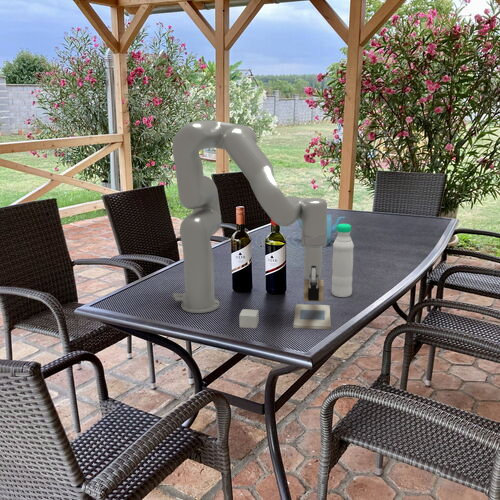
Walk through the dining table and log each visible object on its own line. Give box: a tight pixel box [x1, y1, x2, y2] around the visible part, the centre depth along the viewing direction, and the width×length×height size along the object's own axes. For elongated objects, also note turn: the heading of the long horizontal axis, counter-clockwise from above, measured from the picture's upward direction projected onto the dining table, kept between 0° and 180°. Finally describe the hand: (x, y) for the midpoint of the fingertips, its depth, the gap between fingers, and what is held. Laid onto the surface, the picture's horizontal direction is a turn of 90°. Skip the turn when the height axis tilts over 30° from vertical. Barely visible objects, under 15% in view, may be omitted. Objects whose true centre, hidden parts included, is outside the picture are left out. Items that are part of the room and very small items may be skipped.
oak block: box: [303, 278, 325, 302], centre depth 160 cm, size 6×6×5 cm
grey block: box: [238, 308, 260, 329], centre depth 158 cm, size 5×5×4 cm
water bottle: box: [331, 223, 355, 298], centre depth 179 cm, size 7×7×25 cm
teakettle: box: [297, 214, 346, 247], centre depth 250 cm, size 19×19×15 cm
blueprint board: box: [293, 303, 332, 331], centre depth 162 cm, size 11×17×1 cm, turn 173°
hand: (313, 295), depth 161 cm, fingers closed on oak block, 6 cm apart
